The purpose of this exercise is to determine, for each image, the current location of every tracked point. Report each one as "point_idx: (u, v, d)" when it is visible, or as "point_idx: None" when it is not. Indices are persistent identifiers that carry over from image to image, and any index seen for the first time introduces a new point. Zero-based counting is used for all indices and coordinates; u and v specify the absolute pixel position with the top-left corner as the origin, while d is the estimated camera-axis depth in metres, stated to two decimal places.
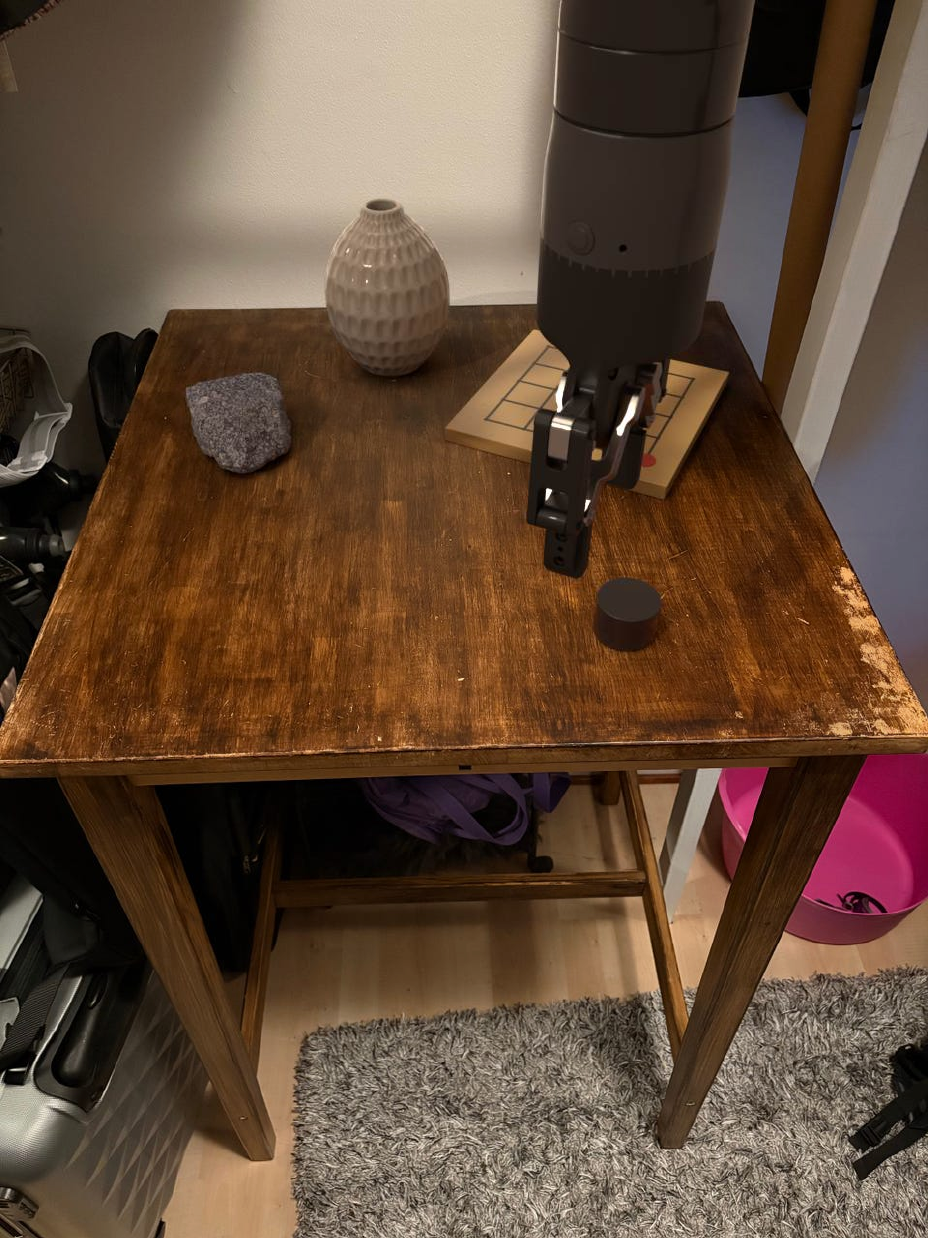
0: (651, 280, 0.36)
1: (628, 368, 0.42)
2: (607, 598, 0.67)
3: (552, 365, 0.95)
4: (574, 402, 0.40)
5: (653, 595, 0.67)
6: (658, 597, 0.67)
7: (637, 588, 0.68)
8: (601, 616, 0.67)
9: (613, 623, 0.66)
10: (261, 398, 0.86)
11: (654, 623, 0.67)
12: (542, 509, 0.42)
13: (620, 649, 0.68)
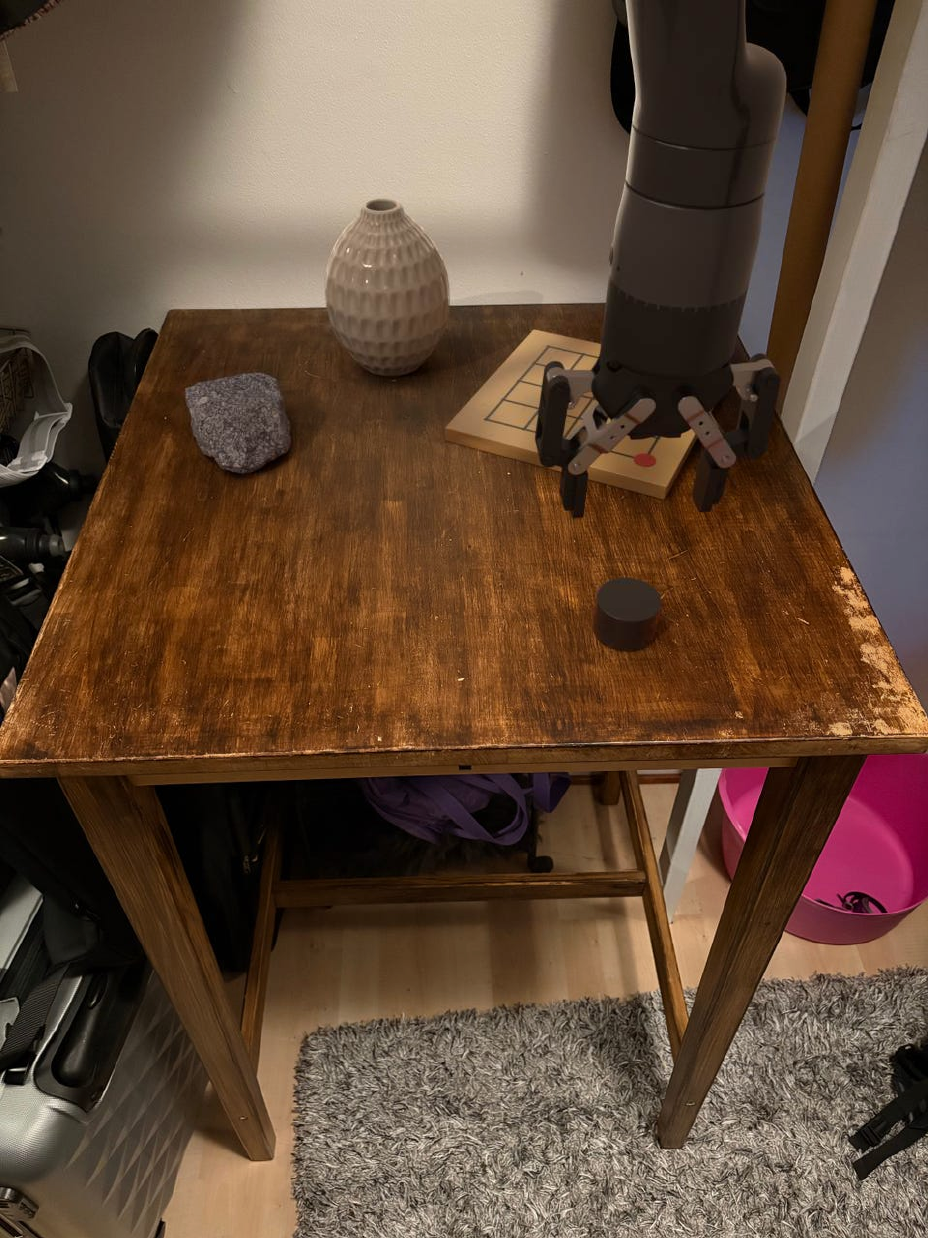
0: (629, 302, 0.48)
1: (647, 378, 0.52)
2: (607, 598, 0.67)
3: None
4: (583, 372, 0.53)
5: (653, 595, 0.67)
6: (658, 597, 0.67)
7: (637, 588, 0.68)
8: (601, 616, 0.67)
9: (613, 623, 0.66)
10: (261, 398, 0.86)
11: (654, 623, 0.67)
12: (541, 436, 0.57)
13: (620, 649, 0.68)
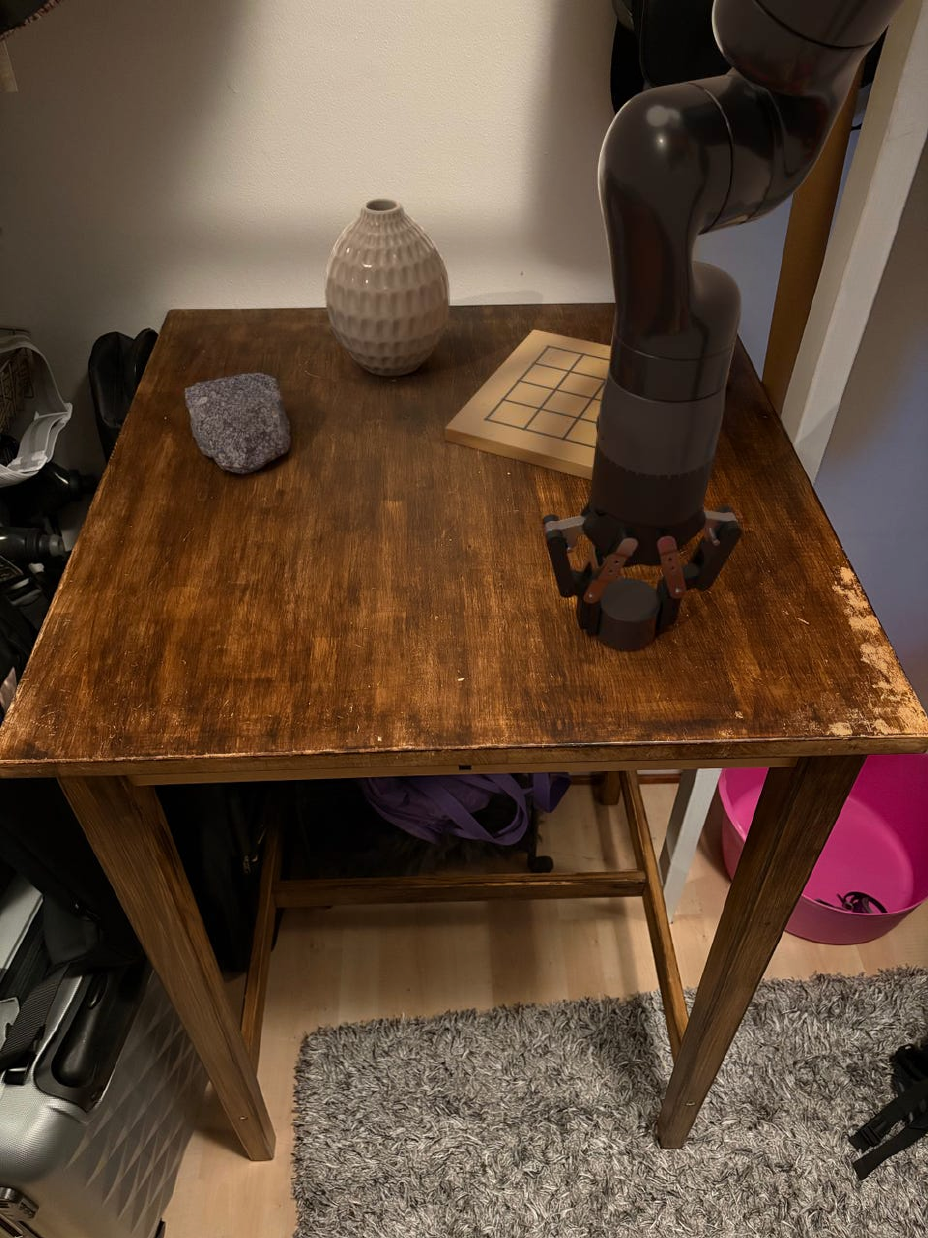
0: (612, 467, 0.56)
1: None
2: (607, 598, 0.67)
3: (552, 365, 0.95)
4: (573, 520, 0.62)
5: (653, 595, 0.67)
6: (658, 597, 0.67)
7: (637, 588, 0.68)
8: (600, 616, 0.67)
9: (613, 623, 0.66)
10: (260, 398, 0.86)
11: (654, 623, 0.67)
12: None
13: (620, 649, 0.68)
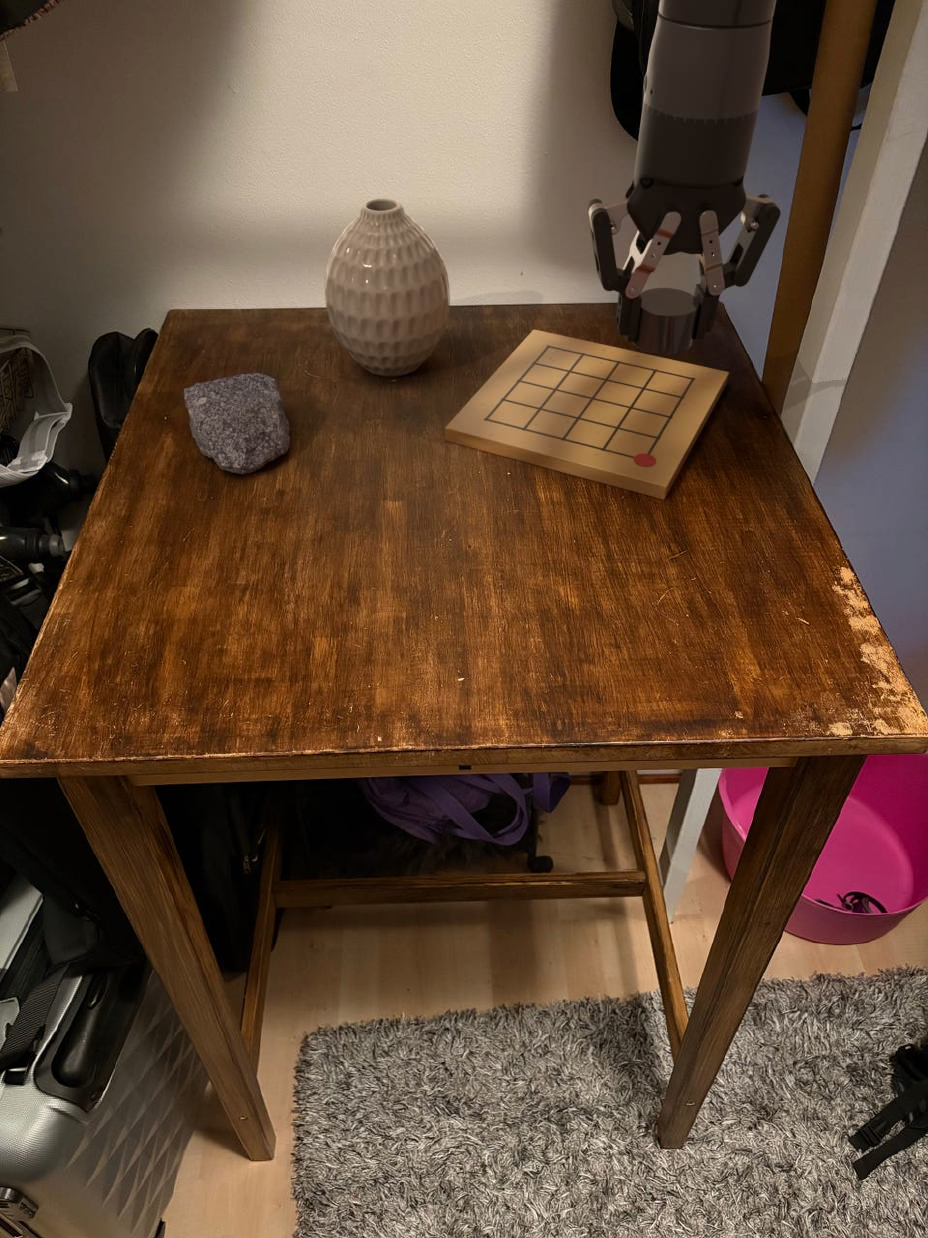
0: (660, 119, 0.58)
1: (674, 195, 0.63)
2: (647, 301, 0.69)
3: (552, 365, 0.95)
4: (618, 200, 0.64)
5: (691, 299, 0.70)
6: (696, 300, 0.70)
7: (675, 294, 0.70)
8: (640, 317, 0.69)
9: (653, 321, 0.69)
10: (260, 399, 0.86)
11: (692, 323, 0.69)
12: None
13: (659, 352, 0.70)
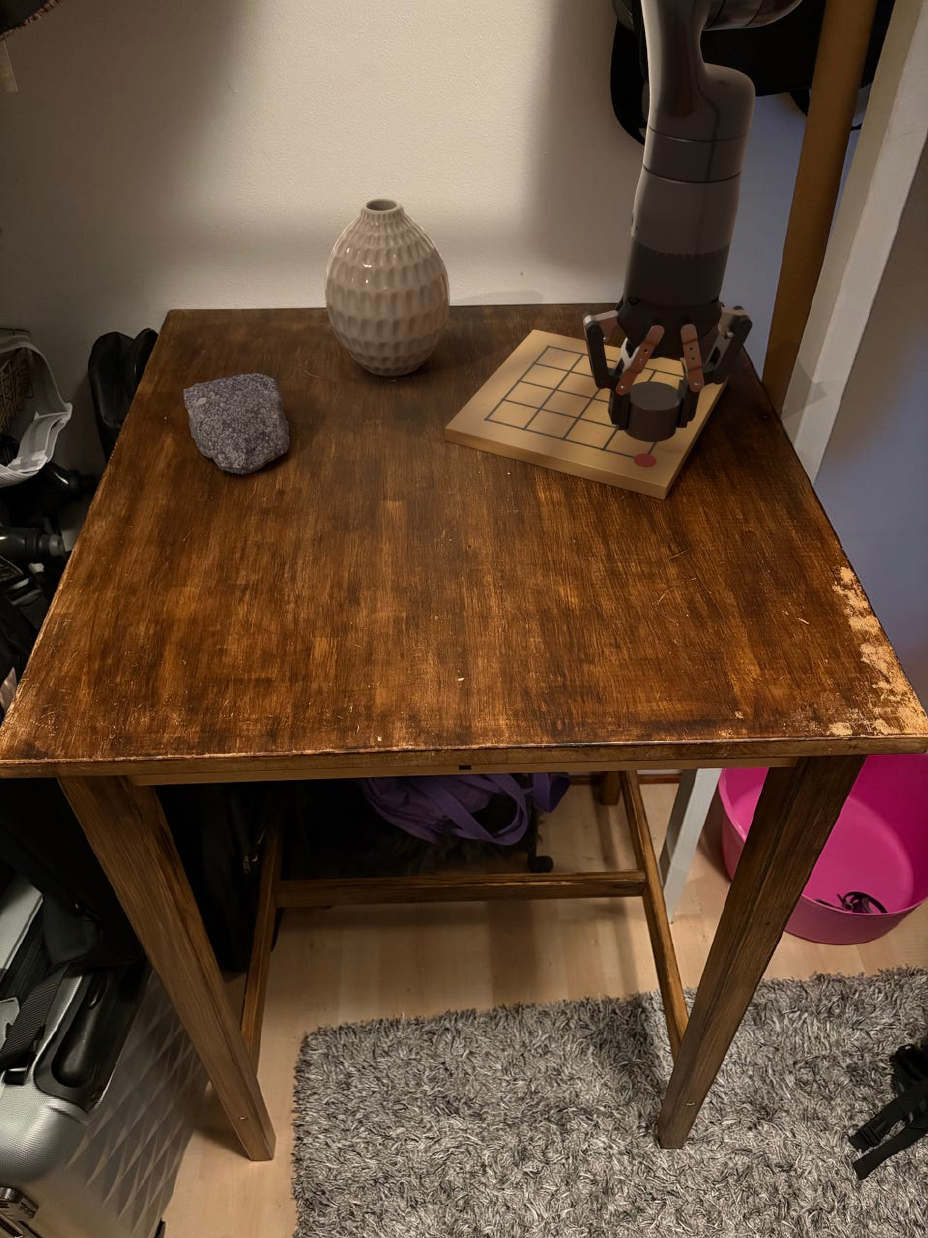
0: (645, 251, 0.67)
1: (658, 310, 0.71)
2: (635, 395, 0.78)
3: (552, 365, 0.95)
4: (609, 313, 0.73)
5: (675, 393, 0.78)
6: (679, 394, 0.78)
7: (661, 388, 0.79)
8: (630, 410, 0.78)
9: (641, 414, 0.77)
10: (259, 399, 0.86)
11: (676, 415, 0.78)
12: None
13: (646, 440, 0.79)
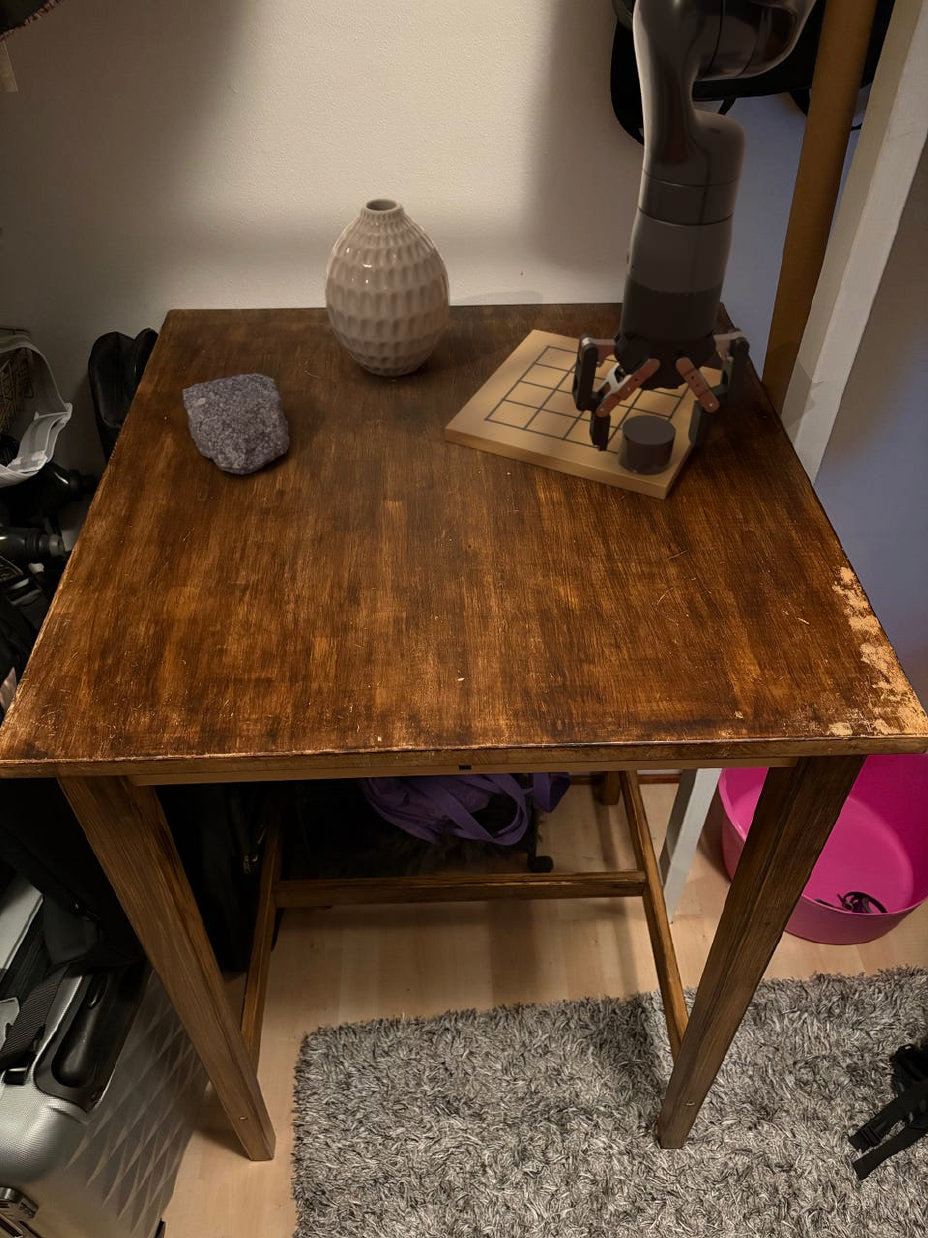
0: (640, 289, 0.69)
1: (653, 344, 0.73)
2: (631, 429, 0.80)
3: (552, 365, 0.95)
4: (608, 341, 0.74)
5: (669, 427, 0.81)
6: (673, 428, 0.81)
7: (655, 422, 0.81)
8: (625, 444, 0.80)
9: (635, 448, 0.79)
10: (259, 399, 0.86)
11: (670, 449, 0.80)
12: (577, 389, 0.78)
13: (641, 472, 0.81)
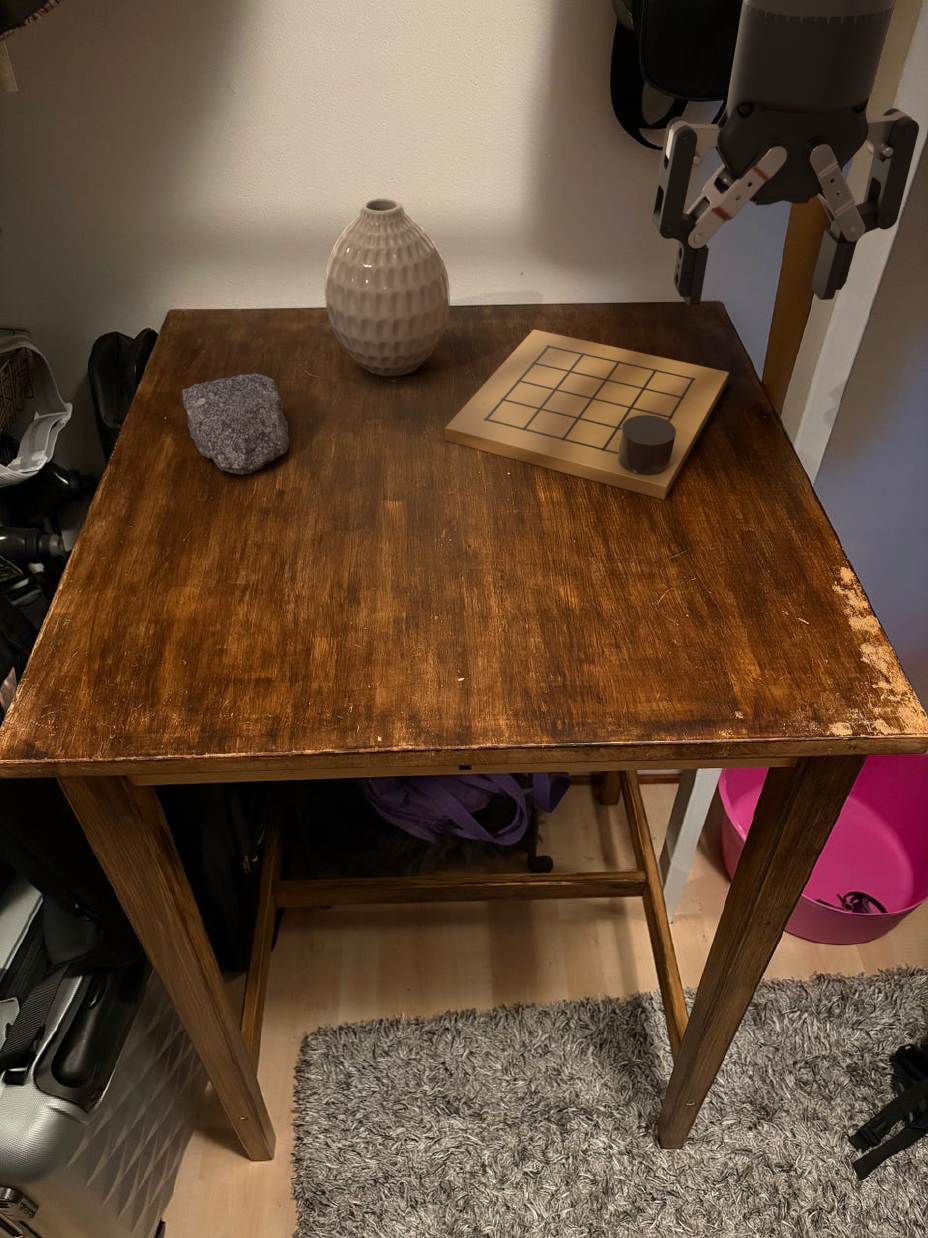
0: (768, 21, 0.46)
1: (778, 125, 0.50)
2: (631, 429, 0.80)
3: (552, 365, 0.95)
4: (709, 125, 0.51)
5: (669, 427, 0.81)
6: (673, 428, 0.81)
7: (655, 422, 0.81)
8: (625, 444, 0.80)
9: (635, 448, 0.79)
10: (258, 399, 0.86)
11: (670, 449, 0.80)
12: (660, 208, 0.54)
13: (641, 472, 0.81)
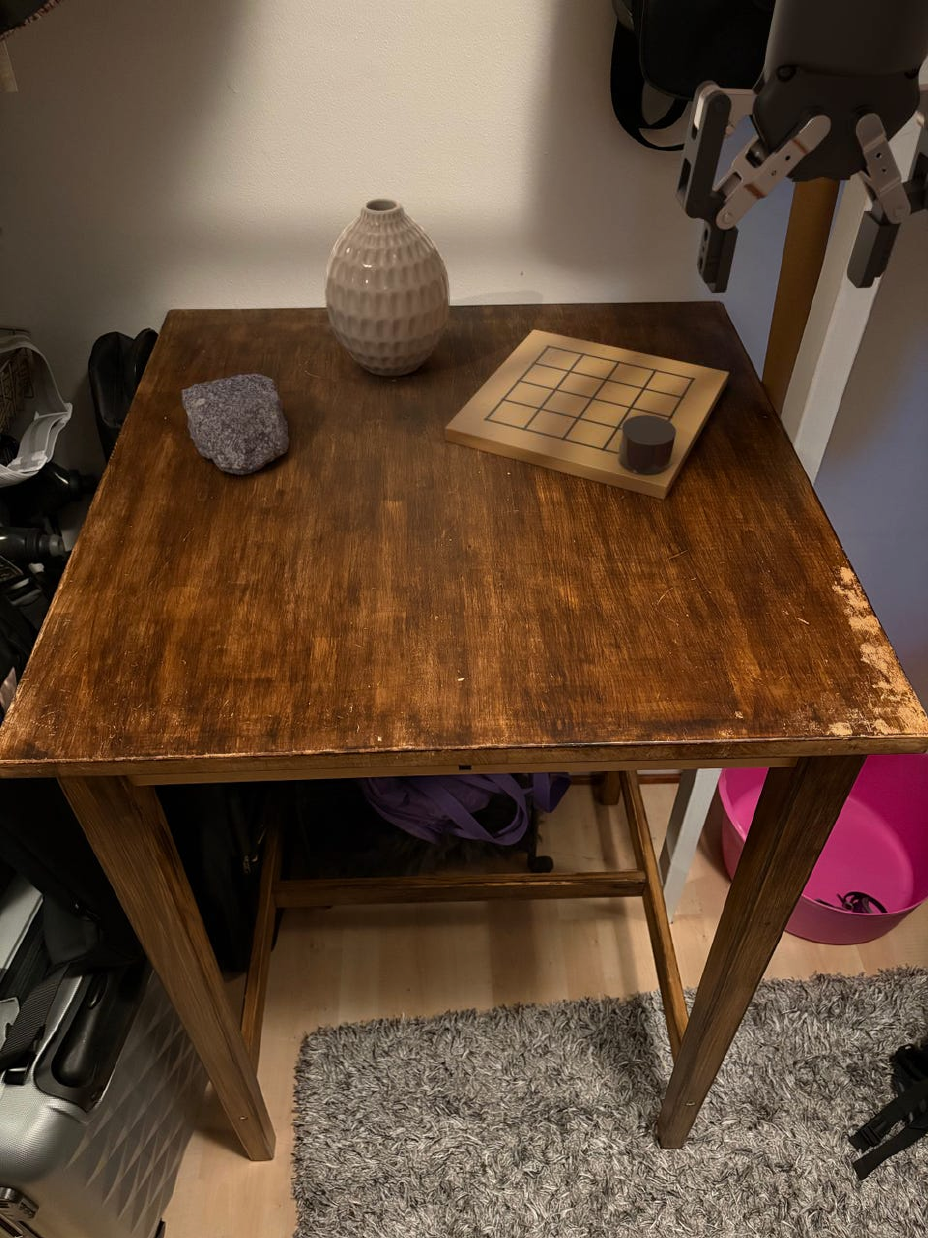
0: None
1: (822, 92, 0.45)
2: (631, 429, 0.80)
3: (552, 365, 0.95)
4: (744, 91, 0.46)
5: (669, 427, 0.81)
6: (673, 428, 0.81)
7: (655, 422, 0.81)
8: (625, 444, 0.80)
9: (635, 448, 0.79)
10: (258, 399, 0.86)
11: (670, 449, 0.80)
12: (685, 184, 0.49)
13: (641, 472, 0.81)
